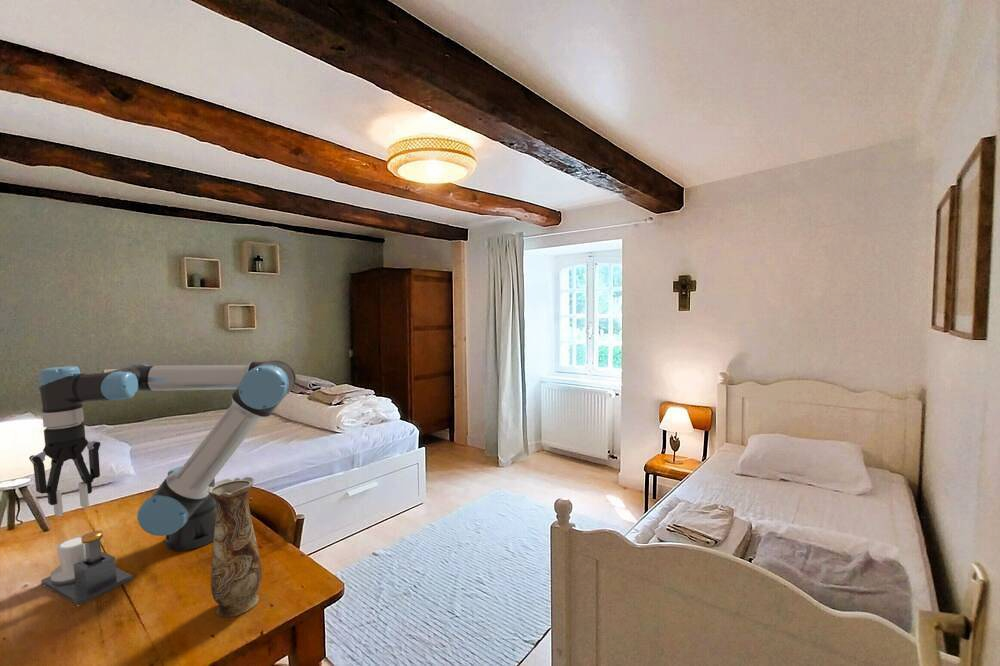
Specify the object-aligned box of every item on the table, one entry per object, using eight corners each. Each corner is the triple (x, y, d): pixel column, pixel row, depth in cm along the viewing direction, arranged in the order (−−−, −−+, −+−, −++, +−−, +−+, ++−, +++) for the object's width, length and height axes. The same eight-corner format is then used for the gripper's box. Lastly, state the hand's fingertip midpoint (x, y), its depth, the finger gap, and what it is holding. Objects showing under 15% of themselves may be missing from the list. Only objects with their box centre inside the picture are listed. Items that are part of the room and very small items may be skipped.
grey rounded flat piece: (110, 566, 118) (109, 560, 118) (61, 589, 109) (60, 582, 109) (92, 558, 122) (91, 552, 122) (43, 578, 113) (43, 572, 113)
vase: (208, 625, 97) (199, 498, 95) (218, 596, 107) (210, 480, 105) (260, 611, 102) (253, 489, 99) (264, 584, 111) (258, 472, 109)
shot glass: (54, 577, 111) (51, 551, 110) (65, 563, 117) (63, 538, 116) (89, 569, 114) (86, 544, 113) (98, 556, 120) (96, 532, 120)
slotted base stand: (132, 579, 114) (130, 553, 114) (78, 606, 104) (75, 578, 104) (94, 561, 123) (92, 537, 122) (41, 584, 113) (39, 558, 112)
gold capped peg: (108, 562, 112) (105, 532, 111) (88, 571, 108) (85, 540, 108) (100, 558, 114) (98, 529, 113) (80, 567, 110) (78, 536, 109)
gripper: (99, 415, 122) (106, 494, 124) (9, 433, 106) (18, 523, 108) (113, 418, 119) (119, 499, 121) (22, 436, 103) (31, 529, 105)
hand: (72, 510), depth 114 cm, fingers open, 5 cm apart
